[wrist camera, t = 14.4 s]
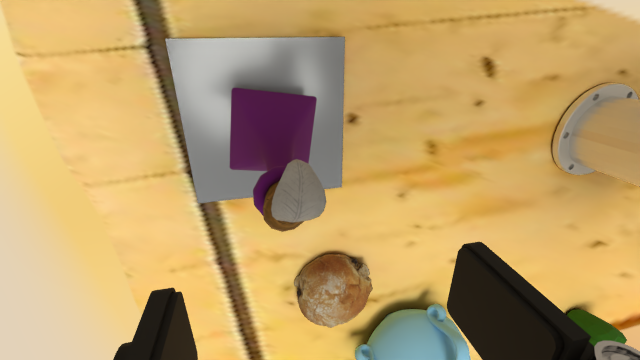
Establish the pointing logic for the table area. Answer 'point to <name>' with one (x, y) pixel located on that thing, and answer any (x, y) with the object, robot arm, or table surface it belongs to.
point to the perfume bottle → (277, 154)
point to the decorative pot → (415, 337)
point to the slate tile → (257, 74)
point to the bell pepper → (596, 327)
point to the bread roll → (333, 289)
